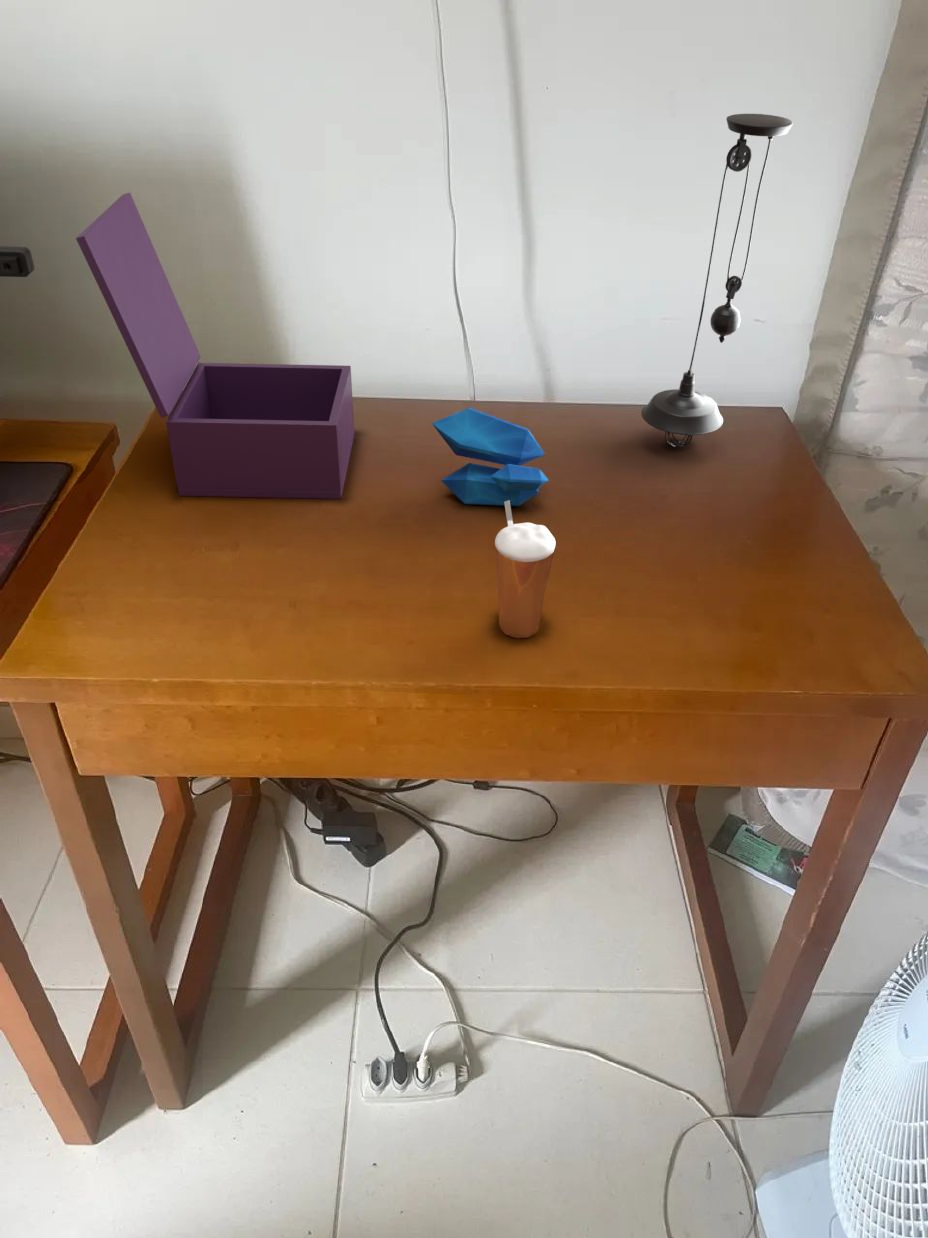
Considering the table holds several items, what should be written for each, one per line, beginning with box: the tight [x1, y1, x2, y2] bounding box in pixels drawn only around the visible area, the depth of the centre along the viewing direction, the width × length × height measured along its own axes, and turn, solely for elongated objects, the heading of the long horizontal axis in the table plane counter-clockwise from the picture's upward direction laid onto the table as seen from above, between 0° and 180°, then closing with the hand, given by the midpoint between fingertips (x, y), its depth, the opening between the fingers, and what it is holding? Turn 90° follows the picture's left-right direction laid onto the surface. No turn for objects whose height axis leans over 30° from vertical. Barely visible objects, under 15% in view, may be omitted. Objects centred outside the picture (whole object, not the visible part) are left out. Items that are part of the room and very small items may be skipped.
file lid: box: [75, 192, 202, 418], centre depth 90 cm, size 16×14×1 cm
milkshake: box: [494, 501, 557, 639], centre depth 76 cm, size 4×5×10 cm
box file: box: [165, 362, 355, 500], centre depth 97 cm, size 16×14×8 cm
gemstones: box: [431, 407, 550, 507], centre depth 93 cm, size 7×9×12 cm
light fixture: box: [640, 113, 794, 448], centre depth 95 cm, size 10×8×31 cm
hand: (29, 261), depth 88 cm, fingers closed
